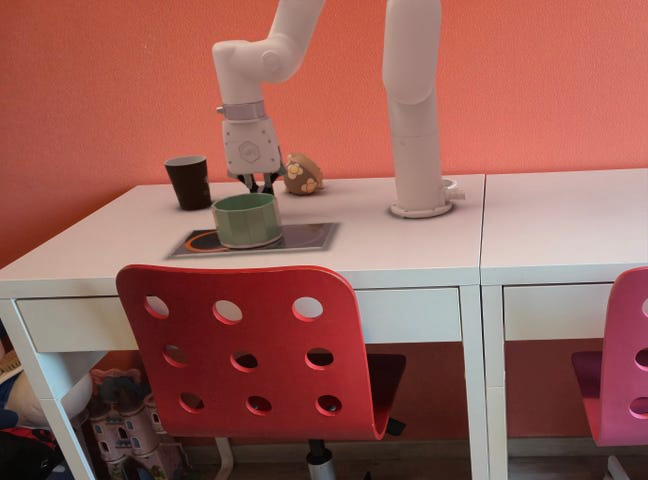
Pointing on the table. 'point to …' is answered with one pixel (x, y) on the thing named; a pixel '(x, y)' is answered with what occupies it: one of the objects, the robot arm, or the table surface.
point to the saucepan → (247, 219)
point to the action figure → (302, 175)
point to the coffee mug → (190, 181)
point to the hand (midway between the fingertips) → (264, 205)
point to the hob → (290, 239)
